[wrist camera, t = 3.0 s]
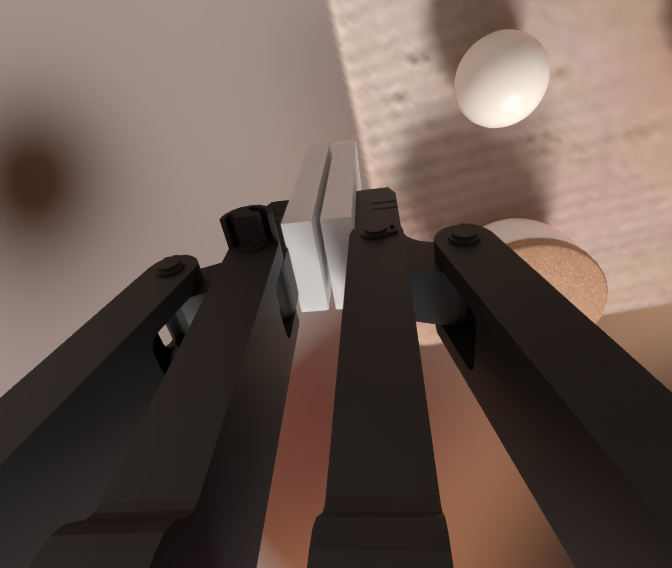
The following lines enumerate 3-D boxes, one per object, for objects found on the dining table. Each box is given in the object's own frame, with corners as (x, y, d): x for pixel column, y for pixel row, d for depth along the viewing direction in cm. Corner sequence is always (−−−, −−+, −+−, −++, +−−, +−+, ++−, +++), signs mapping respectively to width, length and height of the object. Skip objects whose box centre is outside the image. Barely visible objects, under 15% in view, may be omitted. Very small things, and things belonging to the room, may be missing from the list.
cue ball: (441, 44, 28) (456, 53, 23) (529, 12, 26) (563, 16, 22) (454, 127, 30) (470, 150, 26) (534, 102, 29) (566, 121, 25)
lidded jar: (470, 322, 41) (495, 399, 33) (411, 242, 36) (424, 310, 28) (583, 267, 36) (642, 340, 29) (533, 170, 32) (587, 226, 24)
